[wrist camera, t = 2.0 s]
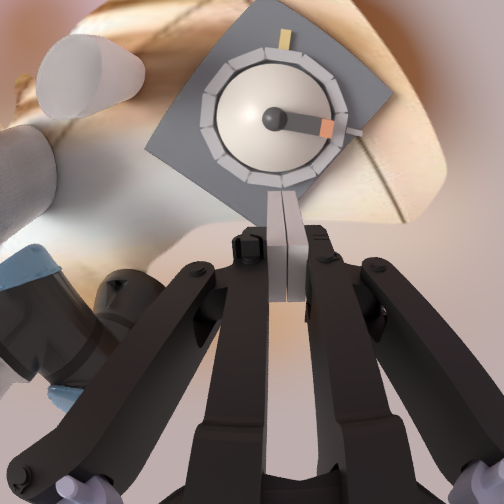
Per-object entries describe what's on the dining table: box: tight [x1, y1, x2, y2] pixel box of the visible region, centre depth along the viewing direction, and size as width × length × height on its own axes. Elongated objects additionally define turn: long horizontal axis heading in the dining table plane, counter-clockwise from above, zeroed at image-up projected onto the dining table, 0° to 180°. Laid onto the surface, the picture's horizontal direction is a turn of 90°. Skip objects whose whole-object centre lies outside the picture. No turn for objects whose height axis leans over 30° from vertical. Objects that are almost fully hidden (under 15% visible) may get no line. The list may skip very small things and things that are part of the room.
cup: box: [36, 34, 145, 120], centre depth 23 cm, size 9×9×12 cm
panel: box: [145, 0, 393, 227], centre depth 29 cm, size 24×20×3 cm
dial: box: [217, 64, 334, 172], centre depth 27 cm, size 12×12×5 cm
